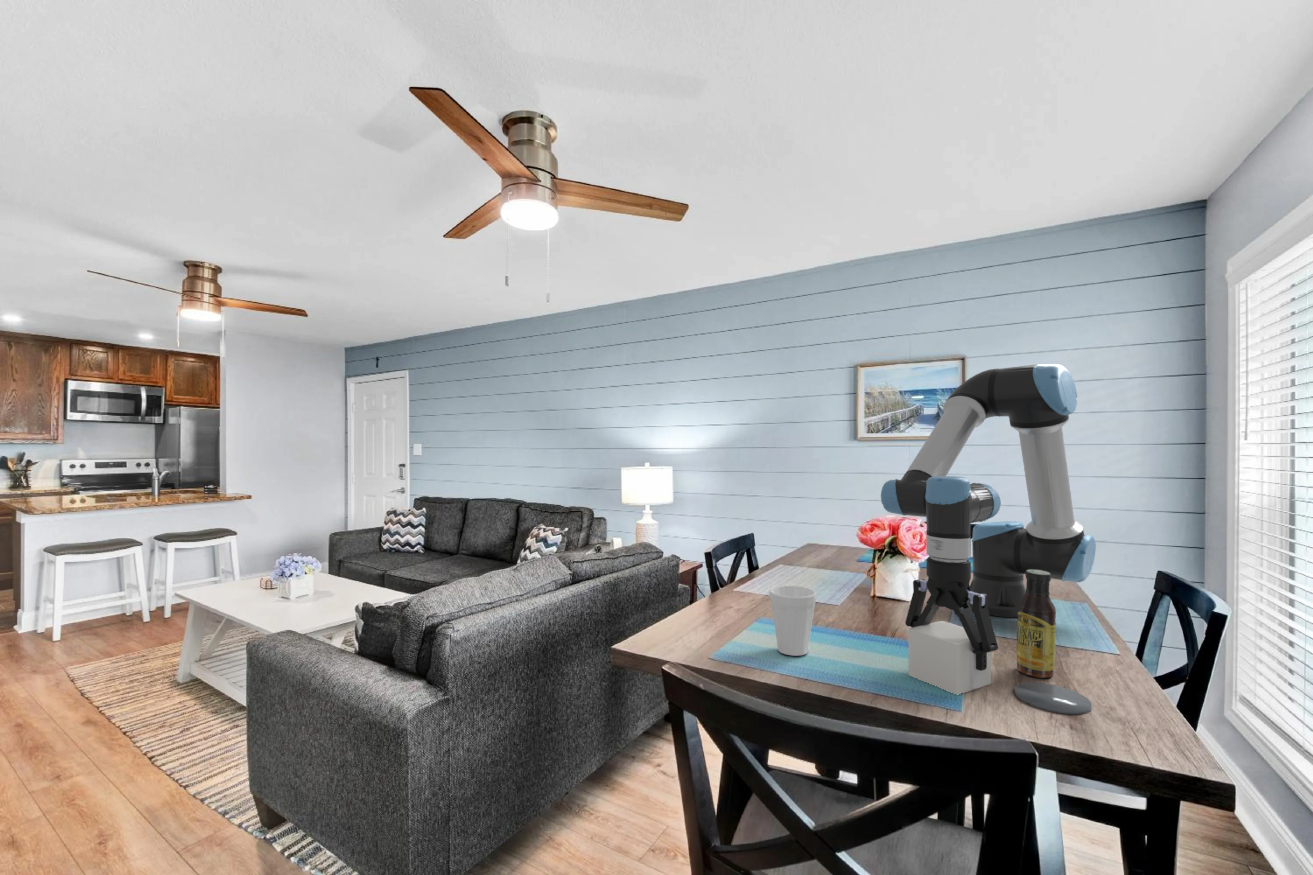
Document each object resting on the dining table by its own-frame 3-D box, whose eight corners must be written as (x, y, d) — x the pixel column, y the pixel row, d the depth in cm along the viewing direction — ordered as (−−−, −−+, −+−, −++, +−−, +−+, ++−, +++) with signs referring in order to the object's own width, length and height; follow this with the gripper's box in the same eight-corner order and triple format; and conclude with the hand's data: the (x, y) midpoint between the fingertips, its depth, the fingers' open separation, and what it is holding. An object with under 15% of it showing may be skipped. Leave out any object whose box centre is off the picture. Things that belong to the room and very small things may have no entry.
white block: (942, 665, 116) (941, 620, 116) (991, 683, 107) (990, 635, 107) (908, 675, 111) (908, 628, 111) (957, 695, 103) (956, 644, 103)
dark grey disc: (1036, 681, 108) (1036, 677, 108) (1104, 704, 99) (1104, 701, 99) (1001, 693, 103) (1001, 690, 103) (1069, 720, 93) (1069, 716, 93)
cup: (759, 648, 126) (759, 588, 126) (795, 640, 131) (794, 583, 131) (790, 664, 117) (789, 599, 117) (827, 655, 122) (826, 593, 122)
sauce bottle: (1008, 669, 114) (1008, 568, 114) (1031, 664, 116) (1030, 566, 116) (1041, 682, 108) (1040, 576, 108) (1064, 677, 110) (1063, 573, 110)
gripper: (885, 550, 118) (886, 659, 118) (995, 572, 98) (996, 703, 98) (910, 546, 121) (910, 652, 121) (1021, 567, 101) (1022, 694, 101)
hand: (949, 675), depth 109 cm, fingers closed on white block, 10 cm apart
